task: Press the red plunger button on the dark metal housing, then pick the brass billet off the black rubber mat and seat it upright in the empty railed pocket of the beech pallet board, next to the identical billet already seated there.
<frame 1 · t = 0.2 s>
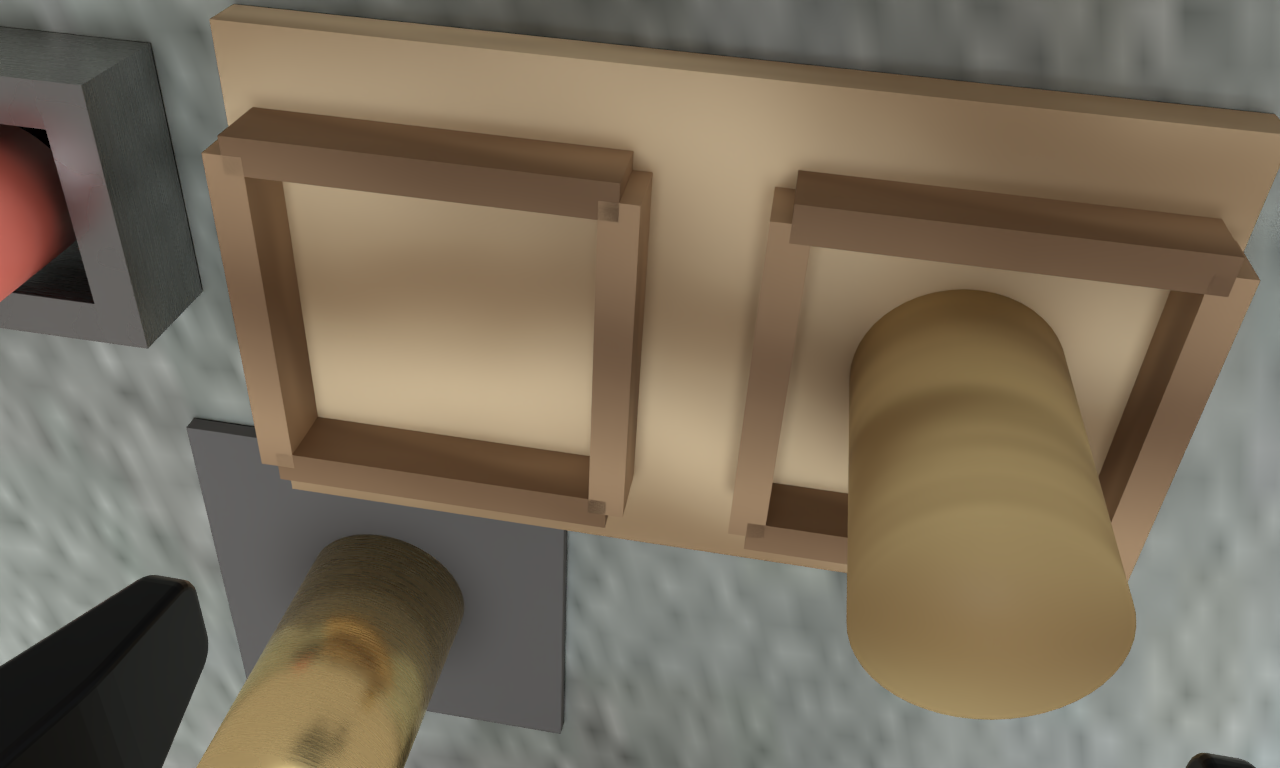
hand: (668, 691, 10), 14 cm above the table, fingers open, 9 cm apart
billet: (388, 592, 31), resting on mat
pallet: (702, 321, 24), on the table
mat: (393, 582, 31), on the table
button housing: (53, 161, 25), on the table
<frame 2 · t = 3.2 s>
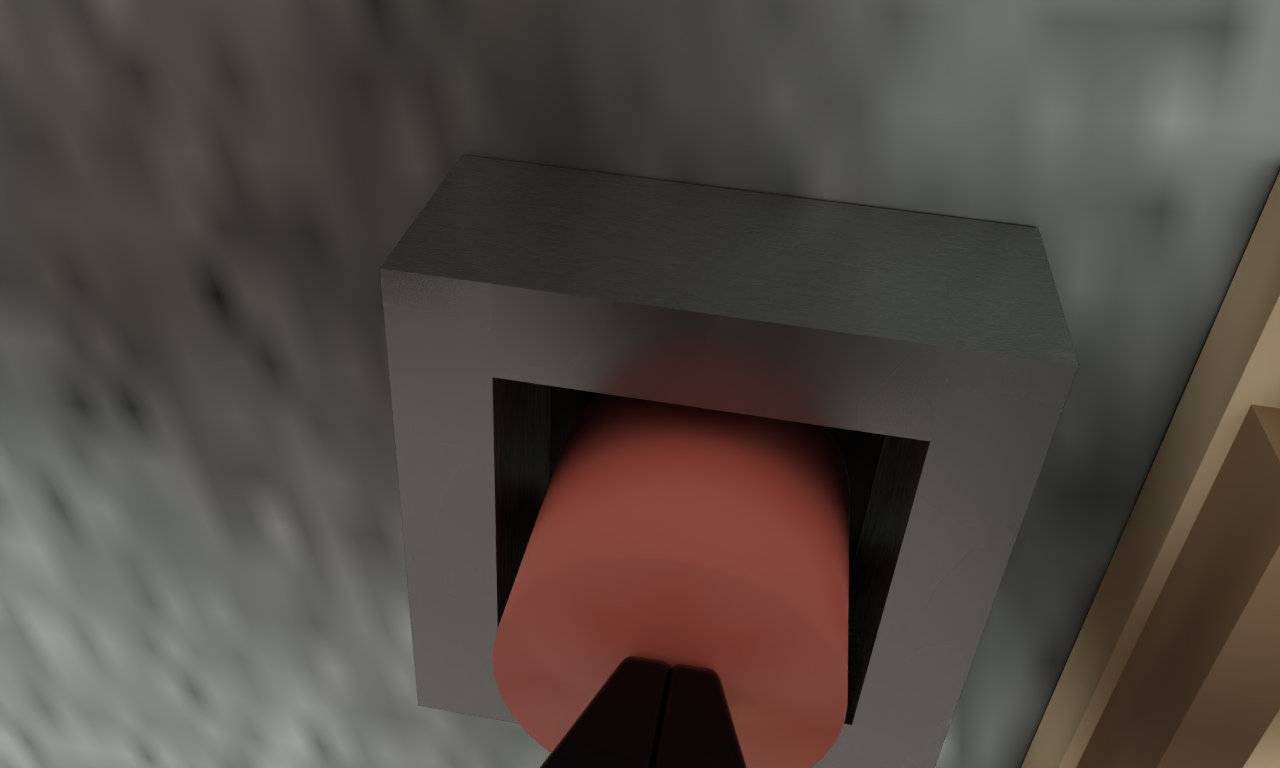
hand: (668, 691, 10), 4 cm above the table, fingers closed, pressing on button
button: (685, 578, 11), point 3 cm above the table, slide at 0.2 cm, touching gripper
button housing: (714, 419, 13), on the table
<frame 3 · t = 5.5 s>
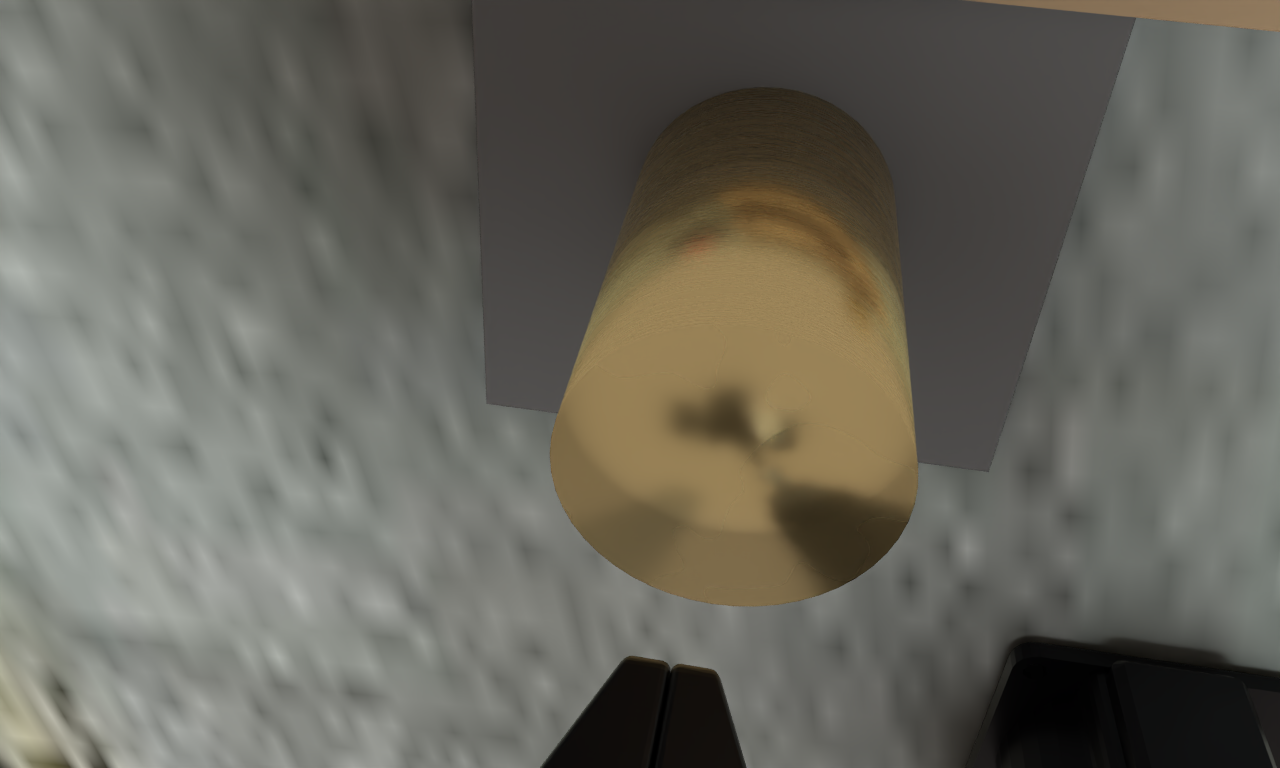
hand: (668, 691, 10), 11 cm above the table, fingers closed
billet: (763, 211, 19), resting on mat
mat: (764, 200, 19), on the table
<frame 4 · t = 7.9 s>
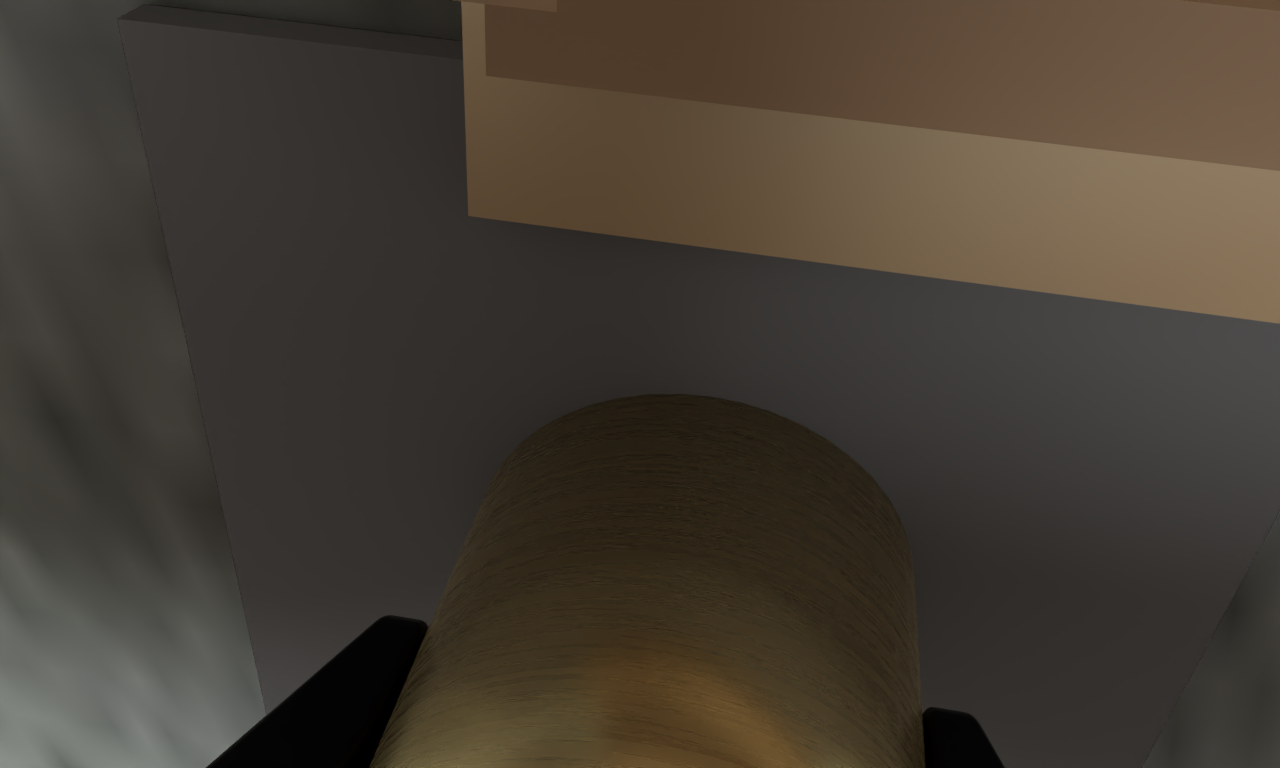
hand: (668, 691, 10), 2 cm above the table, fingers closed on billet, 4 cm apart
billet: (689, 572, 11), resting on mat, touching gripper
mat: (694, 544, 11), on the table
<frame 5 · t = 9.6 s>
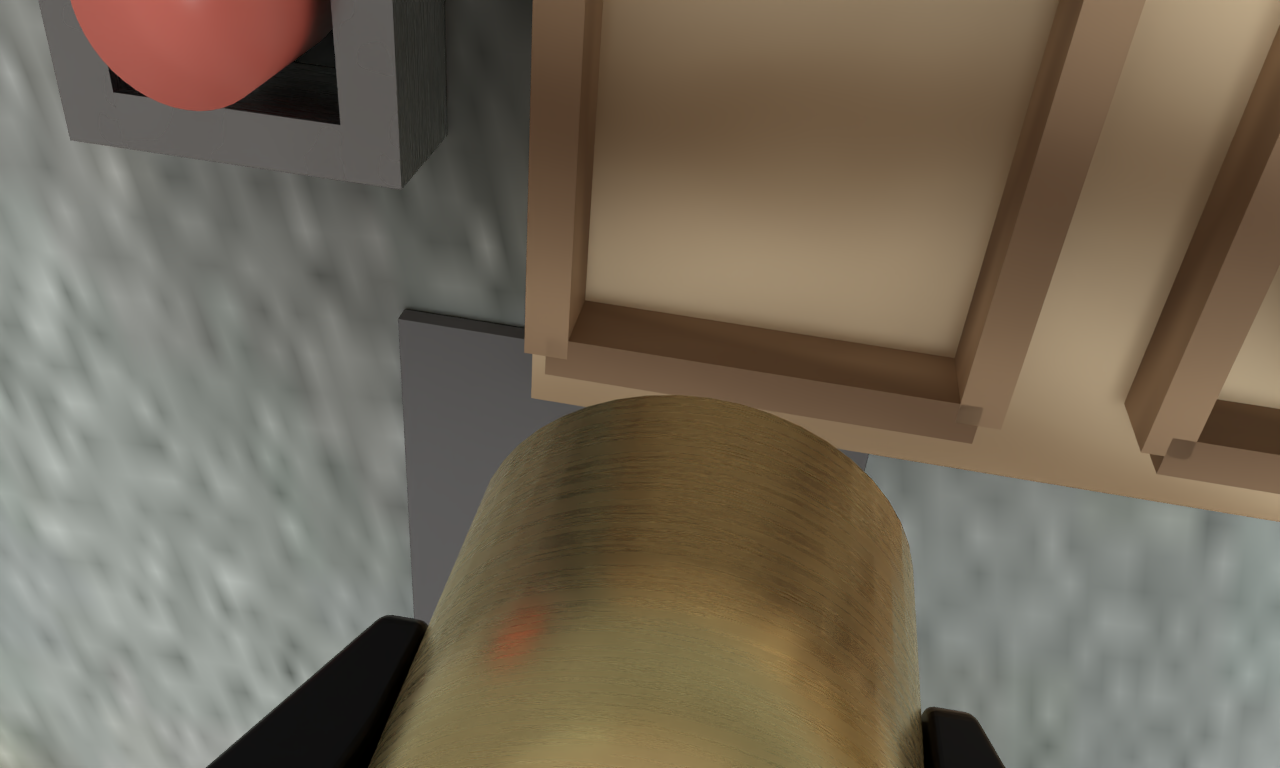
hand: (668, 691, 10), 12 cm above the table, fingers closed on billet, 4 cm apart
billet: (688, 573, 11), point 11 cm above the table, touching gripper
pallet: (1116, 177, 19), on the table
mat: (621, 527, 25), on the table
when the fingers open (3 cm above the table, at t = 11.6 s): billet stays where it is, resting on pallet.
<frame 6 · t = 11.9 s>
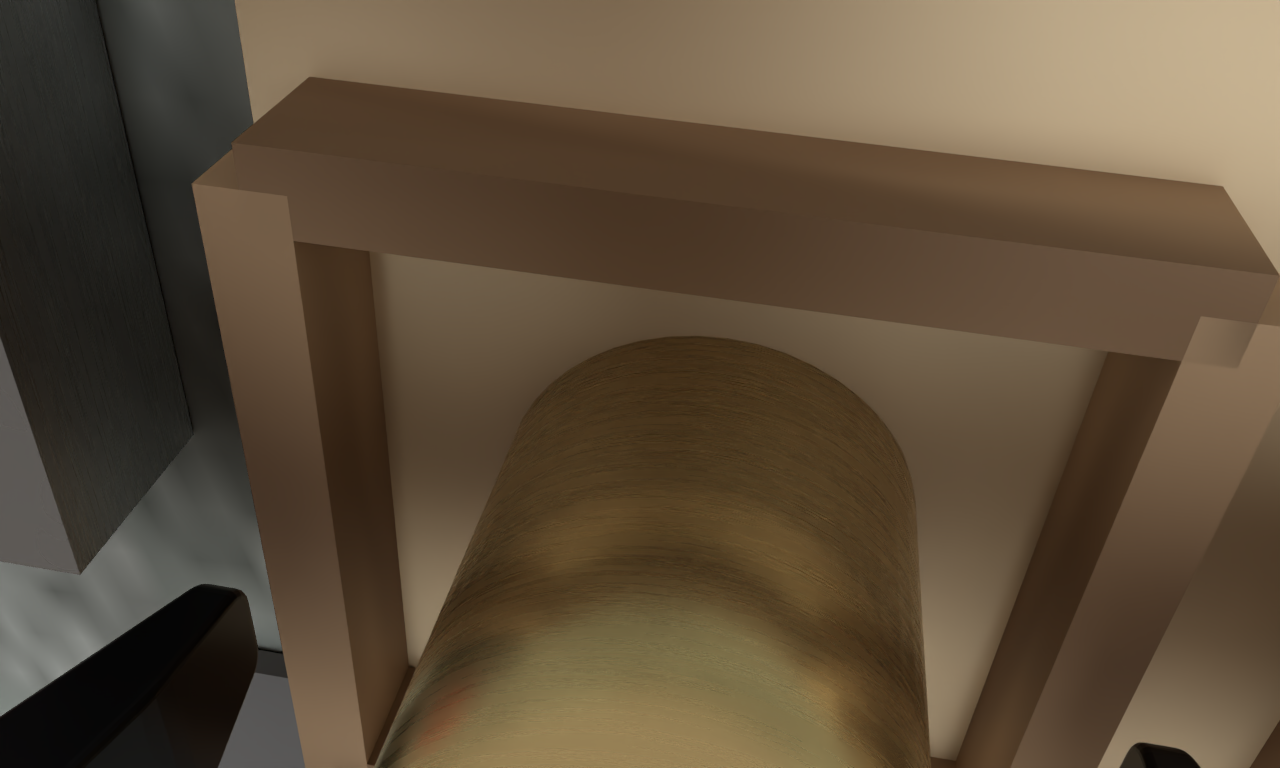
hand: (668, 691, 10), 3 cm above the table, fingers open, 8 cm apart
billet: (705, 508, 12), point 1 cm above the table, touching pallet
pallet: (1204, 522, 12), on the table
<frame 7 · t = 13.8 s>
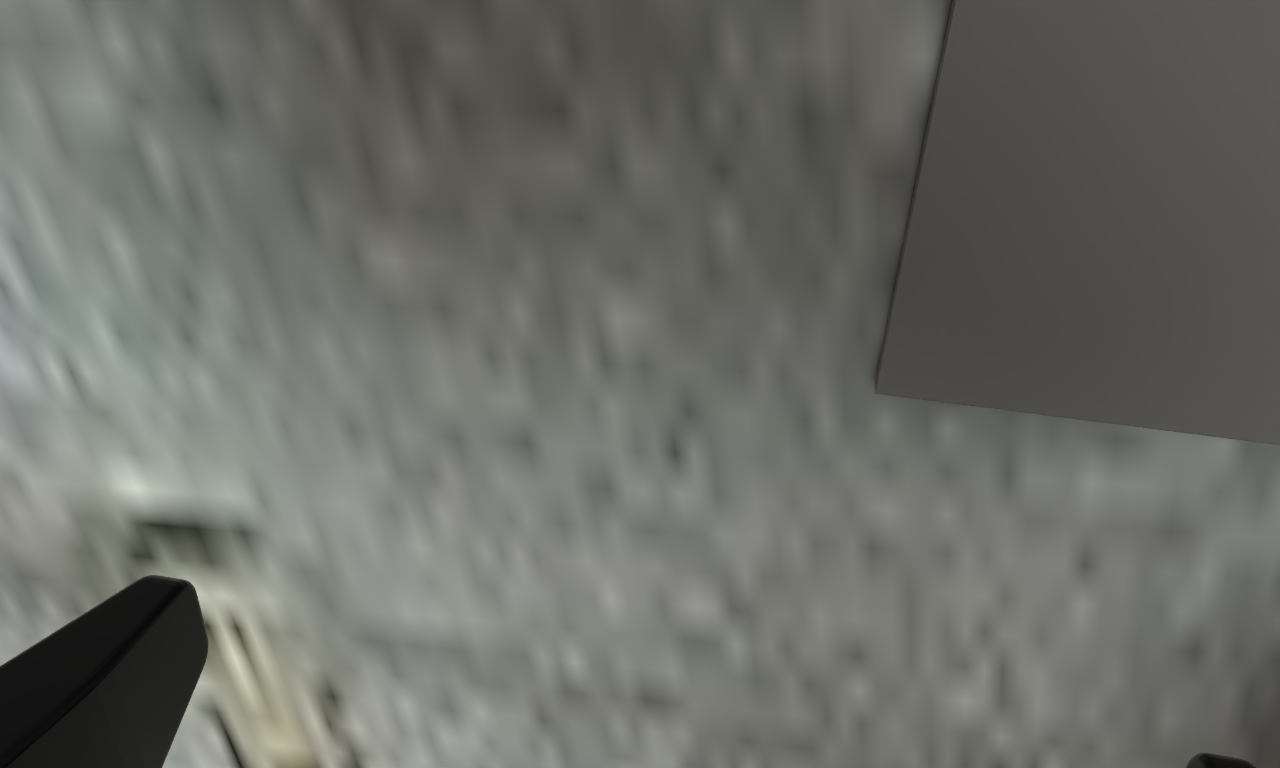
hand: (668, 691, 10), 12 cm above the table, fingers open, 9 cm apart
mat: (1225, 176, 18), on the table
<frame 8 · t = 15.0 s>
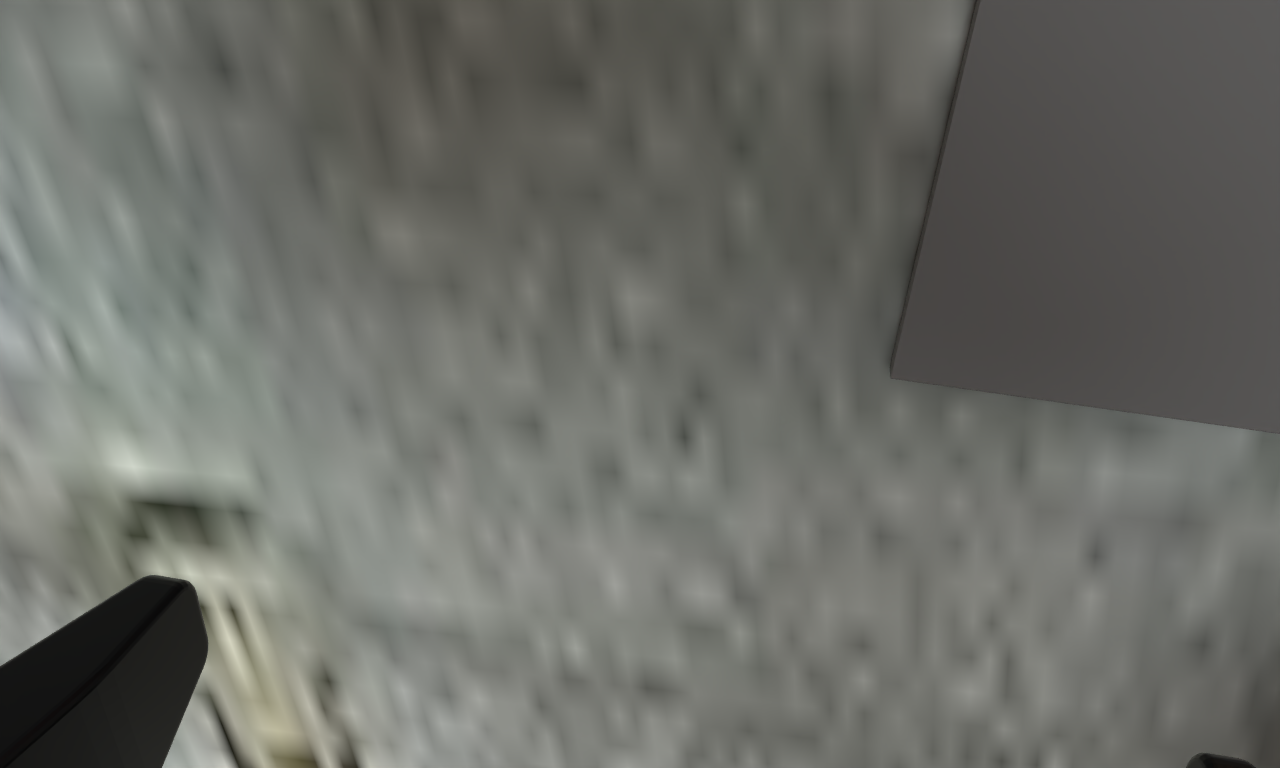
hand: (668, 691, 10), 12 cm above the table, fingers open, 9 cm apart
mat: (1251, 162, 18), on the table
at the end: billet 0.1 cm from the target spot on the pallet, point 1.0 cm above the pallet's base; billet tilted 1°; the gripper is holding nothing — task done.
